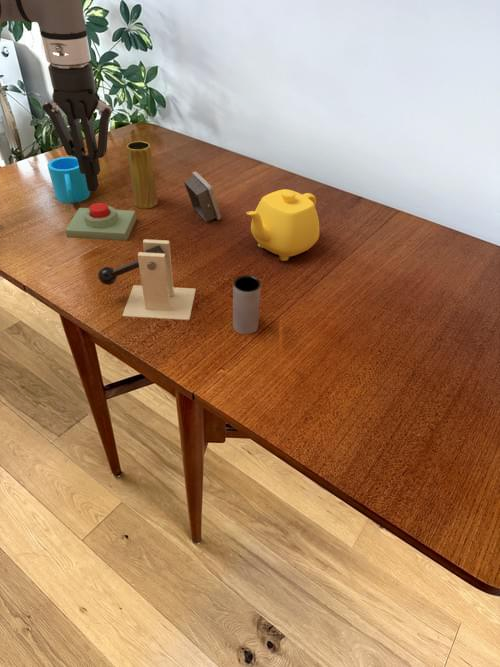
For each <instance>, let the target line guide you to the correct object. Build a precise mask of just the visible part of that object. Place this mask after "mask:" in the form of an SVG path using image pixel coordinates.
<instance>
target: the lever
mask: <svg viewBox="0 0 500 667" xmlns="http://www.w3.org/2000/svg"><path fill="white" fill-rule="evenodd" d="M145 253H163V254H165V253H164V251H163V250H162V249H161V247H160V246H159V245H158V246H156V247H153V248H151V249H148V250H146V251H145ZM165 256H166V254H165ZM136 269H140V268H139V262H138V259H136V260H133V261H130V262H128V263H126V264H123V265H120V266H119V267H116V268H113V267H111V266H104V267H101V268H100V269H99V270H98V273H97V278H98V280H99V282H100V283H101V284H103V285H105V286H110V285H113V284H114V283H115V282H116V281H117V278H118V277H119V276H121V275H123V274H126V273H129V272H131V271H134V270H136Z"/></svg>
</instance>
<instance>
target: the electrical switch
mask: <svg viewBox="0 0 500 667" xmlns="http://www.w3.org/2000/svg"><path fill="white" fill-rule="evenodd" d="M183 183H184V186H185V188H186V192H187V194H188V197H189V200H190V202H191V205H192V208H194V210H195V211H196V212H197V214H198V215H199V216H200V217H201V218H202V219H203V220H204V221H205V223H208V222H210V221H212V220H214V219H216V220H217V221H221V220H222V215H221V212H220V211H221V210H220V208H219V205H218V201H217V198H216V194H215V192H214V190H213V187H212V185H211V184H210V183H209V182H207V180H206V179H205V178H204V177H203V176H202V175H201V174H199V173H198V172H197V170H196V171H192V176H190V177H189V178H187V179H186V180H183Z"/></svg>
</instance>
